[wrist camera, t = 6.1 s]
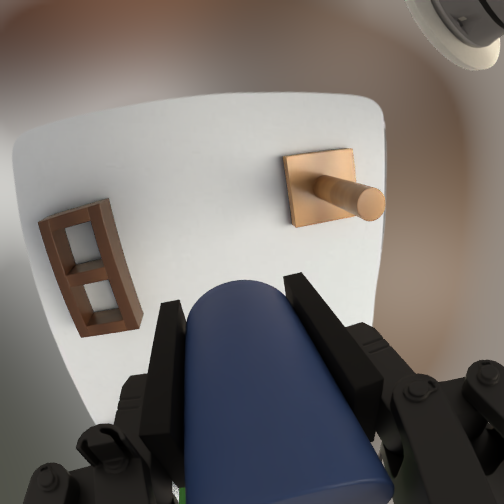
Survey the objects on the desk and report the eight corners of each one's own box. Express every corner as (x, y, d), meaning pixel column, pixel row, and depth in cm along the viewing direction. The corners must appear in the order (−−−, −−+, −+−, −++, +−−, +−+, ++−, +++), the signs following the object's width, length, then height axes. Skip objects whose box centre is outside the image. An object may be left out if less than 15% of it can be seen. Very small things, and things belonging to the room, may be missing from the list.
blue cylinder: (289, 268, 11) (417, 449, 4) (298, 358, 12) (377, 523, 5) (173, 292, 11) (152, 513, 3) (200, 379, 12) (218, 562, 5)
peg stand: (347, 148, 34) (406, 152, 23) (353, 212, 37) (410, 241, 26) (282, 156, 33) (321, 161, 22) (292, 224, 36) (331, 260, 25)
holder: (108, 198, 32) (99, 203, 28) (143, 314, 37) (139, 328, 34) (50, 215, 31) (37, 222, 28) (88, 323, 36) (80, 338, 33)
